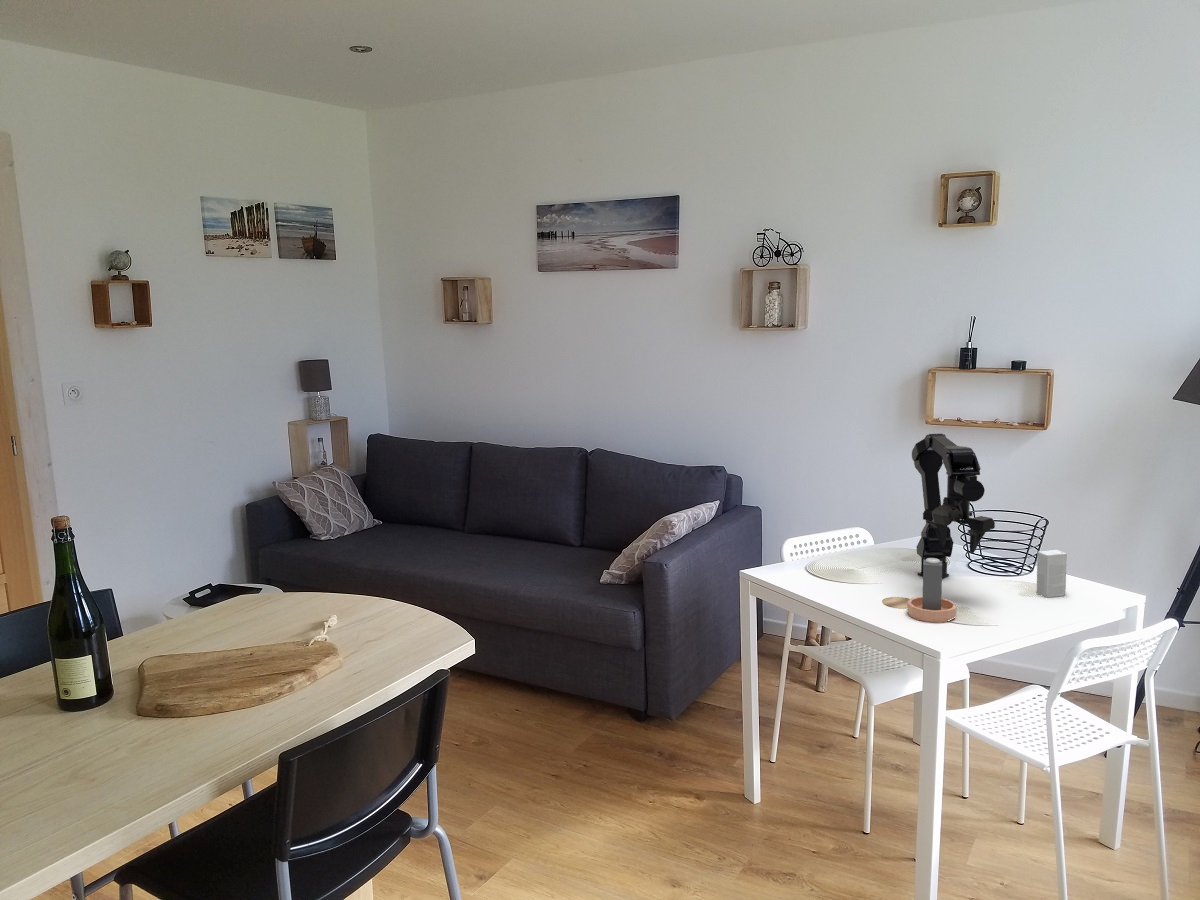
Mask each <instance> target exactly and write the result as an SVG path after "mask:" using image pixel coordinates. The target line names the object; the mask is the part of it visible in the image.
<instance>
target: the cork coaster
mask: <svg viewBox="0 0 1200 900" xmlns="http://www.w3.org/2000/svg"><path fill="white" fill-rule="evenodd" d="M909 599H910V598H908V597H903V596H891V597H885V598H883V599H882V601H881V603H882V604H883V605H884V606H886V607H889V608H891V609H892V608H893V609H900V610H901V609H903V610H905V609H906V610H907V603H908V601H909Z"/></svg>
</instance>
